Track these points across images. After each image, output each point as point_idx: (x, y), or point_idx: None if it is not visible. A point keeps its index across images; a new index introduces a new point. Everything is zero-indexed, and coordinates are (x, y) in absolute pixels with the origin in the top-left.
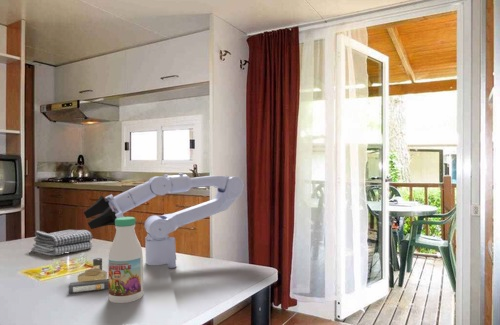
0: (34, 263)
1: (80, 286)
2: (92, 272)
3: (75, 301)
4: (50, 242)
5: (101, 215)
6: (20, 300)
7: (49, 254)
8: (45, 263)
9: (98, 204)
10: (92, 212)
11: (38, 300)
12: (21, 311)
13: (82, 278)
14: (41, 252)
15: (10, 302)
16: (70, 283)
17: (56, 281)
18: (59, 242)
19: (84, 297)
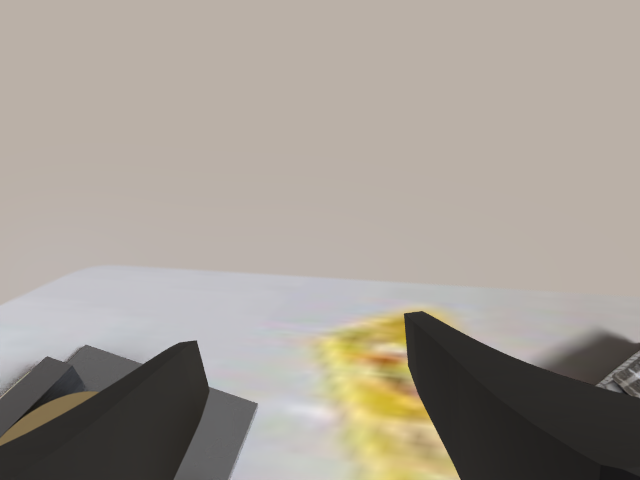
0: (501, 339)
1: (4, 394)
2: None
3: None
4: (633, 363)
5: (46, 427)
6: (189, 290)
7: (600, 382)
8: None
9: (491, 419)
10: (434, 389)
11: (149, 317)
12: (109, 286)
13: (50, 405)
14: (623, 364)
15: (193, 277)
16: (63, 364)
17: (282, 370)
18: (637, 391)
19: None
